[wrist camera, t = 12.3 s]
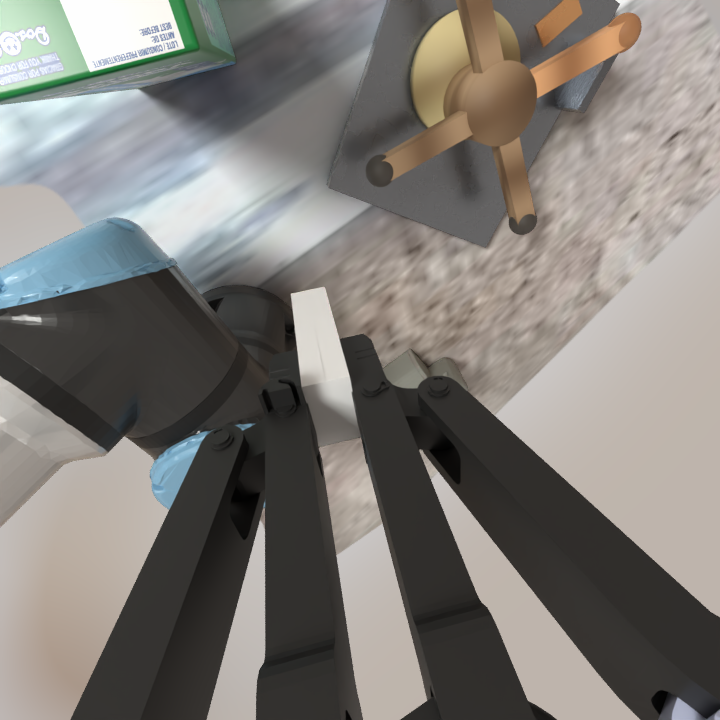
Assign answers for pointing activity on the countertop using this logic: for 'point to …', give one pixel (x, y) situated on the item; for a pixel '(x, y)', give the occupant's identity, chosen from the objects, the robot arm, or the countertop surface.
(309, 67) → the countertop surface
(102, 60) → the milk carton
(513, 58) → the capstan
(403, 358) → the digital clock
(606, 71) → the stand
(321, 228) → the countertop surface
